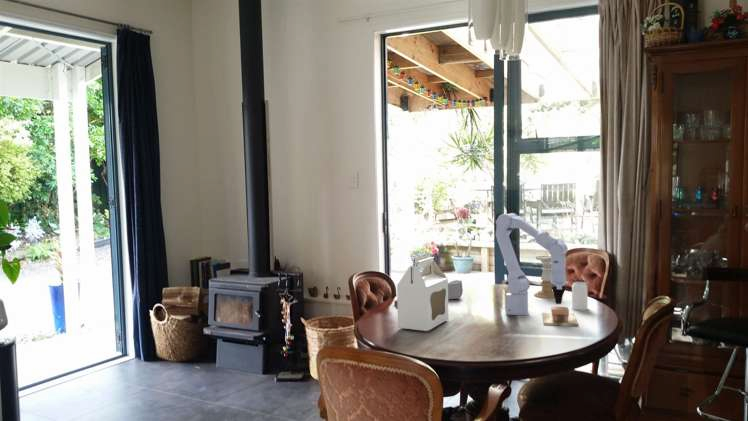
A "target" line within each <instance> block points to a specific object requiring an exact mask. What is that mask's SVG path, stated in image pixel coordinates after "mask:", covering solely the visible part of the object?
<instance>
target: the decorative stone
mask: <svg viewBox="0 0 748 421" xmlns="http://www.w3.org/2000/svg"><path fill="white" fill-rule="evenodd" d="M462 282H463V281H462V280H461V279H460V280H459V279H458V280H456V279H455V280H452V281H450V282H448V300H454V299H455V300H456V299H462V295H463V293H464V292H463V290H464V289H463V283H462Z"/></svg>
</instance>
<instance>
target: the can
mask: <svg viewBox="0 0 748 421" xmlns="http://www.w3.org/2000/svg"><path fill="white" fill-rule="evenodd" d="M588 303H589V302H588V284H587V282H585V281H573V282H572V284H571V305H572V306H571V308H572V310H575V311H587V310H588V308H589V307H588V305H589V304H588Z"/></svg>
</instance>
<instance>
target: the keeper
mask: <svg viewBox="0 0 748 421" xmlns="http://www.w3.org/2000/svg"><path fill="white" fill-rule="evenodd" d="M550 308H551V309H550V311H551V312H550V313H552V319H553V321H557V314H559V315H564V321H567V322H568V316H569V314H570V309H569V306H551V307H550Z"/></svg>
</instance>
